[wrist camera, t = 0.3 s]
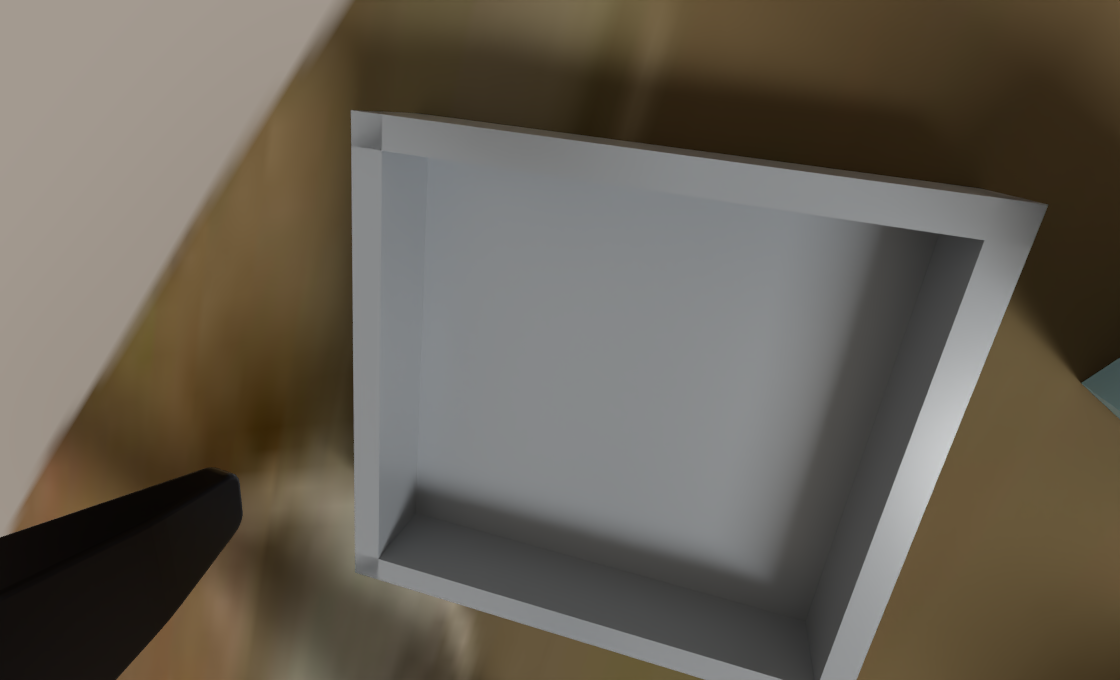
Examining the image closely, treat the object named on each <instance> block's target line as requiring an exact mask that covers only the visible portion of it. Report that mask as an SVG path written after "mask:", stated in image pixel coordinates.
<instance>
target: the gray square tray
mask: <svg viewBox="0 0 1120 680" xmlns="http://www.w3.org/2000/svg"><path fill="white" fill-rule="evenodd" d="M351 169H352V279H353V388H354V497H355V573H359V574H362V575H365V576H368V577H372V578H375V579H378V580H382V581H385V582H388V583H391V584H395V585H398V586H401V587H404V588H408V589H411V590H414V591H417V592H421V593H424V594H427V595H431V596H434V597H437V598H440V599H444V600H447V601H450V602H453V603H457V604H460V605H463V606H466V607H470V608H473V609H476V610H480V611H483V612H486V613H489V614H493V615H496V616H499V617H502V618H506V619H509V620H512V621H516V622H519V623H522V624H525V625H529V626H532V627H535V628H538V629H542V630H545V631H548V632H551V633H555V634H558V635H561V636H565V637H568V638H571V639H574V640H578V641H581V642H584V643H587V644H591V645H594V646H597V647H601V648H604V649H607V650H610V651H614V652H617V653H620V654H623V655H627V656H630V657H633V658H636V659H640V660H643V661H646V662H650V663H653V664H656V665H659V666H663V667H666V668H669V669H672V670H676V671H679V672H682V673H685V674H689V675H692V676H695V677H699V678H702V679H705V680H856V679H857V677H858V674H859V672H860V669H861V667H862V664H863V662H864V659H865V657H866V654H867V652H868V650H869V647H870V645H871V642H872V640H873V637H874V635H875V632H876V630H877V627H878V625H879V622H880V620H881V617H882V615H883V612H884V610H885V607H886V605H887V603H888V600H889V598H890V595H891V593H892V590H893V588H894V585H895V583H896V580H897V578H898V575H899V573H900V570H901V568H902V565H903V563H904V561H905V558H906V556H907V553H908V551H909V548H910V546H911V543H912V541H913V538H914V536H915V533H916V531H917V528H918V526H919V523H920V521H921V518H922V516H923V514H924V511H925V509H926V506H927V504H928V501H929V499H930V496H931V494H932V491H933V489H934V486H935V484H936V481H937V479H938V476H939V474H940V472H941V469H942V467H943V464H944V462H945V459H946V457H947V454H948V452H949V449H950V447H951V444H952V442H953V439H954V437H955V434H956V432H957V429H958V427H959V425H960V422H961V420H962V417H963V415H964V412H965V410H966V407H967V405H968V402H969V400H970V397H971V395H972V392H973V390H974V387H975V385H976V383H977V380H978V378H979V375H980V373H981V370H982V368H983V365H984V363H985V360H986V358H987V355H988V353H989V350H990V348H991V345H992V343H993V340H994V338H995V336H996V333H997V331H998V328H999V326H1000V323H1001V321H1002V318H1003V316H1004V313H1005V311H1006V308H1007V306H1008V303H1009V301H1010V298H1011V296H1012V294H1013V291H1014V289H1015V286H1016V284H1017V281H1018V279H1019V276H1020V274H1021V271H1022V269H1023V266H1024V264H1025V261H1026V259H1027V256H1028V254H1029V251H1030V249H1031V247H1032V244H1033V242H1034V239H1035V237H1036V234H1037V232H1038V229H1039V227H1040V224H1041V222H1042V219H1043V217H1044V214H1045V212H1046V209H1047V207H1048V204H1044V203H1040V202H1035V201H1031V200H1027V199H1023V198H1019V197H1015V196H1011V195H1007V194H1002V193H998V192H994V191H990V190H986V189H982V188H975V187H967V186H960V185H952V184H945V183H937V182H930V181H922V180H915V179H907V178H900V177H892V176H885V175H877V174H870V173H862V172H855V171H847V170H840V169H832V168H825V167H817V166H810V165H802V164H795V163H787V162H780V161H772V160H765V159H757V158H750V157H742V156H735V155H727V154H720V153H712V152H705V151H697V150H690V149H682V148H675V147H667V146H660V145H652V144H645V143H637V142H630V141H622V140H615V139H607V138H600V137H592V136H585V135H577V134H570V133H562V132H555V131H547V130H540V129H532V128H525V127H517V126H510V125H502V124H495V123H487V122H480V121H472V120H465V119H457V118H450V117H442V116H435V115H427V114H420V113H405V112H383V111H360V110H351Z"/></svg>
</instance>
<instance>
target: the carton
mask: <svg viewBox="0 0 1120 680" xmlns="http://www.w3.org/2000/svg"><path fill="white" fill-rule="evenodd" d="M1081 384H1083V385H1084V386H1085V387H1086V388H1087V389H1088V390H1089V391H1090V392H1091V393H1092V394H1093V395H1094V396H1095V397H1097V398H1098V399H1099V400H1100V401H1101V402H1102V403H1103V404H1104V405H1105V406H1106V407H1107V408H1108V409H1109V410H1111V411H1112V412H1113V413H1114V414H1115V415H1116V416H1117V417H1118V418H1119V419H1120V358H1118V359H1117V360H1115V361H1114V362H1112V363H1111V364H1109V365H1108V366H1106V367H1105V368H1103V369H1102V370H1100V371H1099V372H1097V373H1096V374H1094V375H1093V376H1091V377H1090V378H1088V379H1087V380H1085V381H1084V382H1082V383H1081Z"/></svg>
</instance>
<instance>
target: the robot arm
mask: <svg viewBox="0 0 1120 680" xmlns="http://www.w3.org/2000/svg"><path fill="white" fill-rule="evenodd" d="M242 516H243V511H242V502H241V492H240V483H239V479H238V477H237V476H236V475H235V474H233V473H230V472H227V471H224V470H221V469H218V468H213V467H211V468H206V469H202V470H199V471H196V472H193V473H190V474H187V475H184V476H181V477H178V478H175V479H172V480H170V481H167V482H164V483H161V484H158V485H155V486H152V487H149V488H146V489H143V490H140V491H137V492H134V493H131V494H128V495H125V496H122V497H119V498H116V499H113V500H110V501H107V502H104V503H101V504H98V505H95V506H92V507H89V508H86V509H83V510H80V511H77V512H74V513H71V514H68V515H66V516H63V517H60V518H57V519H54V520H51V521H48V522H45V523H42V524H39V525H36V526H33V527H30V528H27V529H24V530H21V531H18V532H15V533H12V534H9V535H6V536H3V537H0V680H116V679H117V678H118V677H119V676H120V675H121V674H122V672H123V671H124V670H125V669H126V668H127V667H128V666H129V665H130V663H131V662H132V661H133V660H134V659H135V658H136V657H137V656H138V655H139V653H140V652H141V651H142V650H143V649H144V648H145V647H146V646H147V645H148V643H149V642H150V641H151V640H152V639H153V638H154V637H155V636H156V635H157V633H158V632H159V631H160V630H161V629H162V628H163V626H164V625H165V624H166V623H167V622H168V621H169V619H170V618H171V617H172V616H173V614H174V613H175V612H176V611H177V609H178V608H179V607H180V606H181V604H182V603H183V602H184V600H185V599H186V598H187V596H188V595H189V594H190V592H191V591H192V590H193V588H194V587H195V586H196V584H197V583H198V582H199V580H200V579H201V578H202V576H203V575H204V574H205V572H206V571H207V570H208V568H209V567H210V566H211V564H212V563H213V562H214V560H215V559H216V558H217V556H218V555H219V554H220V552H221V551H222V550H223V548H224V547H225V546H226V544H227V543H228V542H229V540H230V539H231V538H232V536H233V535H234V534H235V532H236V531H237V529H238V527H239V526H240V523H241V520H242Z"/></svg>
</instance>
